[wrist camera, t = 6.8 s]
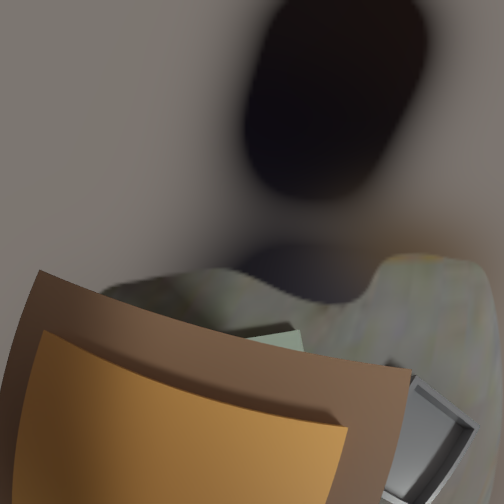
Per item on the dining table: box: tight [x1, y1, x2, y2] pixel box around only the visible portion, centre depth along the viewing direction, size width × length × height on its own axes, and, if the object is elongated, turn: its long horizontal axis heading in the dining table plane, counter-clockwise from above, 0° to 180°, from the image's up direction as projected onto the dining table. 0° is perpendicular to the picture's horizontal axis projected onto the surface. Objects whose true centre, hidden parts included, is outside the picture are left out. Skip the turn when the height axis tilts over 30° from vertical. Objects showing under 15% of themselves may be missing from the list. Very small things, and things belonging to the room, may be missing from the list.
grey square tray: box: [381, 375, 480, 504], centre depth 16 cm, size 9×9×2 cm
